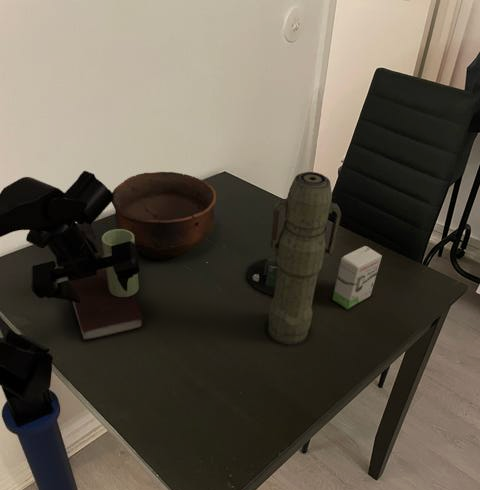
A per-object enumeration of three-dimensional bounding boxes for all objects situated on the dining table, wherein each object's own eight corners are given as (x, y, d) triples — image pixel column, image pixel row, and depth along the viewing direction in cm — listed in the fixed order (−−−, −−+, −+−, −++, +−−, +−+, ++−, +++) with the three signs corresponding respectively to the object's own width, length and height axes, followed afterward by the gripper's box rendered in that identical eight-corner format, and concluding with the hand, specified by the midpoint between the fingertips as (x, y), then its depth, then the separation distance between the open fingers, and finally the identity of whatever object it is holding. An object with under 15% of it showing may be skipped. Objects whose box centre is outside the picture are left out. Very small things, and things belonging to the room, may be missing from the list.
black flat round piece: (249, 257, 128) (251, 238, 125) (308, 262, 128) (311, 244, 124) (245, 293, 117) (246, 274, 113) (309, 299, 116) (313, 280, 113)
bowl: (202, 283, 119) (202, 227, 109) (102, 267, 121) (93, 211, 111) (223, 229, 138) (225, 177, 128) (136, 216, 140) (131, 165, 130)
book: (122, 276, 119) (120, 265, 117) (144, 328, 106) (143, 316, 104) (67, 287, 115) (65, 275, 113) (83, 342, 102) (81, 330, 100)
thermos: (258, 316, 111) (275, 165, 88) (311, 317, 112) (341, 167, 89) (261, 344, 104) (280, 189, 81) (318, 345, 105) (352, 191, 82)
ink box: (347, 310, 114) (358, 267, 107) (331, 299, 117) (340, 256, 109) (371, 296, 119) (383, 254, 111) (355, 286, 122) (365, 244, 114)
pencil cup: (139, 296, 109) (134, 245, 100) (109, 298, 108) (101, 247, 99) (138, 278, 114) (133, 228, 105) (109, 280, 112) (102, 229, 104)
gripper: (119, 194, 87) (146, 250, 100) (14, 221, 87) (55, 273, 100) (124, 243, 81) (152, 295, 94) (12, 271, 81) (55, 320, 94)
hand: (102, 294), depth 96 cm, fingers open, 9 cm apart
